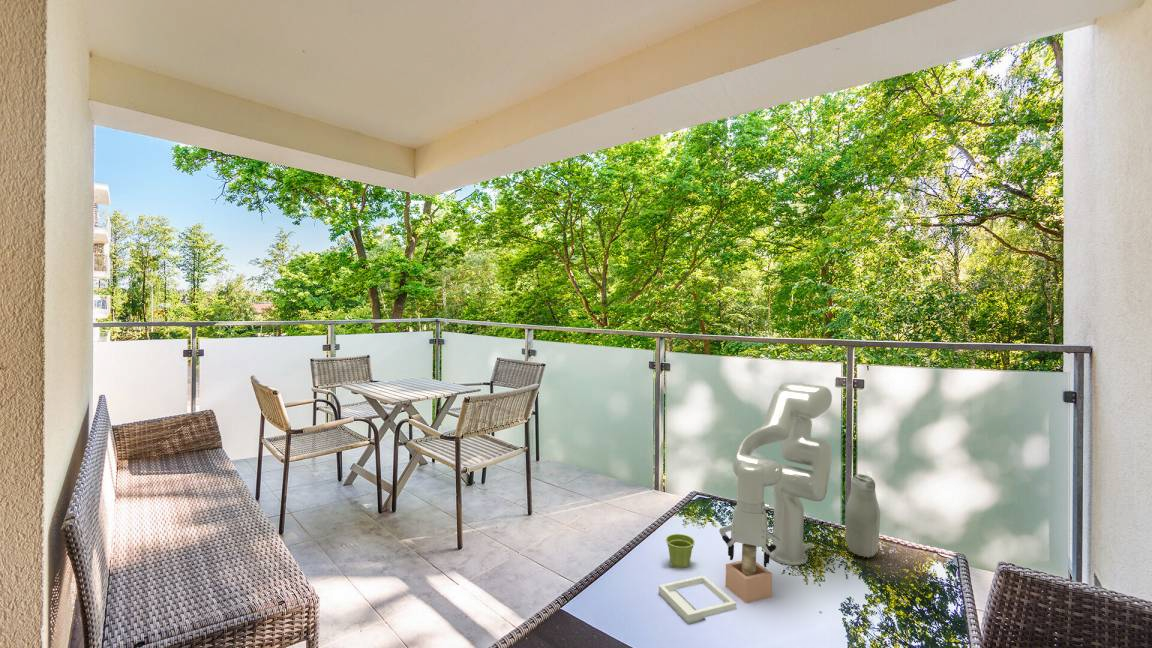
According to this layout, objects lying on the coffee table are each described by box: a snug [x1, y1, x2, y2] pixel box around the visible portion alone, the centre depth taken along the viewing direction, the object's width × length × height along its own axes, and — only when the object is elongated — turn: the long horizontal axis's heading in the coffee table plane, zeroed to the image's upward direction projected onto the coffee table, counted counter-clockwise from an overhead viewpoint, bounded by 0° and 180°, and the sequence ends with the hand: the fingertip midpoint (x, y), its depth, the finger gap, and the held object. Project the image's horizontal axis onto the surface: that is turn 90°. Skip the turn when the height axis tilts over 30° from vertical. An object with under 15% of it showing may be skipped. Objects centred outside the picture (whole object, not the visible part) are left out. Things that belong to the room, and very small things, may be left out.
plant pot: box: [665, 533, 696, 569], centre depth 177 cm, size 9×9×9 cm
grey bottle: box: [845, 473, 881, 558], centre depth 184 cm, size 10×10×28 cm
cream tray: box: [658, 574, 737, 625], centre depth 156 cm, size 16×16×3 cm
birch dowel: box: [741, 543, 757, 576], centre depth 160 cm, size 4×4×14 cm
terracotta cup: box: [725, 560, 773, 604], centre depth 160 cm, size 9×9×8 cm
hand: (748, 561), depth 159 cm, fingers open, 9 cm apart
